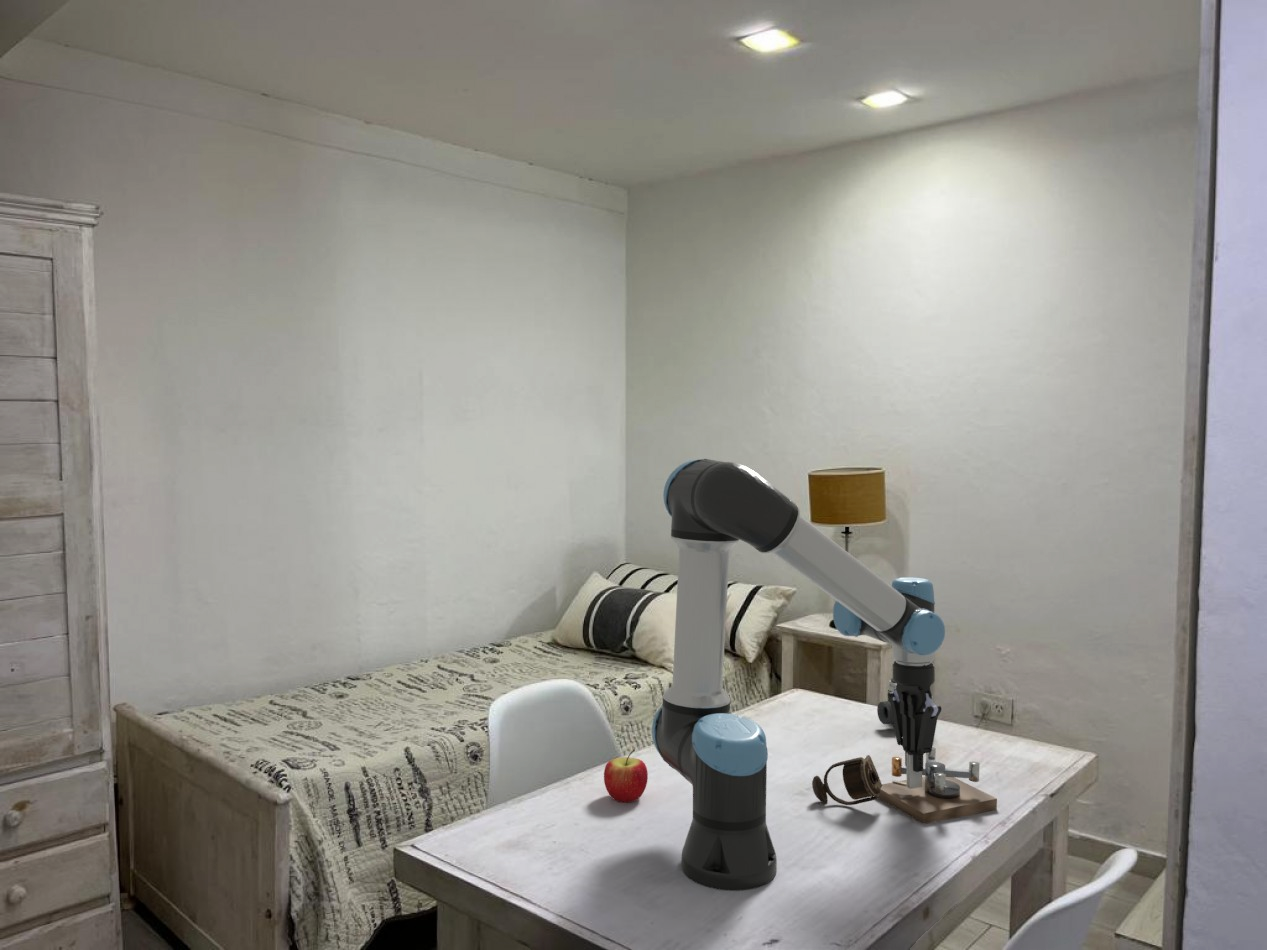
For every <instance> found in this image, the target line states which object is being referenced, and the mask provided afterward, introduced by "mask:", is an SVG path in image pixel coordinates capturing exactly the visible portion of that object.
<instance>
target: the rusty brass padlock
mask: <svg viewBox="0 0 1267 950" xmlns="http://www.w3.org/2000/svg"><path fill="white" fill-rule="evenodd" d="M841 766H843V767H842V779H843V784H844V787H845V790H846V792H847V794H848V796H849V797H850V798H851V799H852V801H849V800H848V801H847V800H844V799H841V798H839V797H837V796H836V795H835V794H834V793H833V792H832V791H831V788H830V786H829V784H828V777H829V776H828V775H829V773H830V772H831V771H832V770H833V769H834V768H837V767H841ZM811 782H812V783H811V785H812V787H811V788H812V791H813V794H814V795H815V797H816V798H817V800H819V801H820V802H822V803H823V804H826V803H828V801H829V799H828V796H829V797H830V799H832V800H833V801H834V802H836V803H838V804H842V805H844V806H855V805H858V804H863V803H867V802H871V801H875V800H878V799H879V798H878V797H879V793H880V789H881V787H882V781H881V779H880V776H879V773H878V771H877V768H876V766H875V763H874V762H873V759H872V757H871V755H869V754H867V755H866V757H865V758H864V757H861V756H859V757H856V758H852V759H847V760H842V761H840V762H836V763H833V764H832V765H830V766H829V767H828V769H827V770H826V772H825V773H824V776H823V781H822V779H821V778H820V776H818V775H815V776H813V778H812V781H811Z"/></svg>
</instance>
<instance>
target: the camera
mask: <svg viewBox="0 0 1267 950" xmlns="http://www.w3.org/2000/svg"><path fill="white" fill-rule="evenodd" d="M896 685H897V683H896V682H894V681H893V677H892V678H890V679H889V680H888V690H887V694H888V693H889V692H894V691H895V690H896ZM933 697H934V696H933V695H932V699H931V700H932V701H933ZM876 710H877V711H876V713H877V718H878V720H879V722H881V724H883V725H889V724H891V725H894V721H893V715H892V708H891V704H890V701H889V699H888V698H887V701H886V700H884V701H879V703H878V705H877V709H876Z"/></svg>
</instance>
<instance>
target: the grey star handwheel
mask: <svg viewBox="0 0 1267 950" xmlns="http://www.w3.org/2000/svg"><path fill="white" fill-rule="evenodd" d="M936 749H937V748H936V747H935V746H932V751H931V752H929V753H925V765H924V766H923V771H922V776H924V777H925V792H926V793H927V794H929V795H931V796H933V797H937V798H942V799H954V798H957V797H959V796H960V786H959V785H958V784H957V783H955V782H952V781H948V780H945V777H954V778H956V779H959V778H960V779H968V781H970V782H973V783H977V782H980V765H981V764H980V763H979V762H978V761H969V762H968V764H969V765H968V766H969V767H968V769H965V768H960V769H959V768H949V767H946V764H944V763H943V762H940V761H939V762H938V761H936V753H937V751H936ZM902 764H903V760H902V757H899V756H892V757H891V776H892V777H896V778H897V777H902V775H907V772H906V765H904V764H903V765H902Z"/></svg>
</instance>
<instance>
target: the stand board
mask: <svg viewBox="0 0 1267 950" xmlns="http://www.w3.org/2000/svg"><path fill="white" fill-rule="evenodd" d="M945 780H948V781H952V782H955V783H957V784H958V785H959V786H960V796H959V797H957V798H954V799H942V798H937V797H933V796H931V795H929V794H927V793H926V792H925V776H922V787H919V788H913V789H909V788H907V779H904V780H896V779H895V780H892V782H887V783H883V784H882V787H881V789H880V793H879V797H878V799H879V800H880V801H882V802H884V803H885V804H888V805H890V806H891V807H893V808H895V809H896V810H898V811H900V812H902V813H903V814H905V815H907V816H909V817H910V818H912V819H914V820H916V821H917V822H918V823H919V822H920V823H921V824H923V825H926V824H929V823H935V822H940V821H945V820H950V819H956V818H961V817H964V816H971V815H975V814H980V813H985V812H989V811H994V810H997V807H998V805H997V804H998V798H997V797H995V796H993V795H991V794H988V792H987V793H986V792H984V791H982V790H981V789H978V788H976V787H974V786H972V785H970V784H969V783H967V782H964V781H963V780H960V779H959V778H957V777H945Z"/></svg>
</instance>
